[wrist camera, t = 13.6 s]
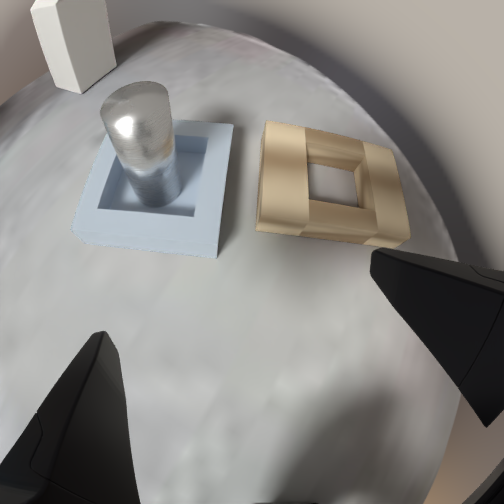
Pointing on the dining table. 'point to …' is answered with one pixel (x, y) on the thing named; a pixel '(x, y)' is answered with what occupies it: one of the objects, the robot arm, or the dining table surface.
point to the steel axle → (144, 141)
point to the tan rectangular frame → (323, 213)
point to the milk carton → (75, 41)
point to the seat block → (167, 217)
